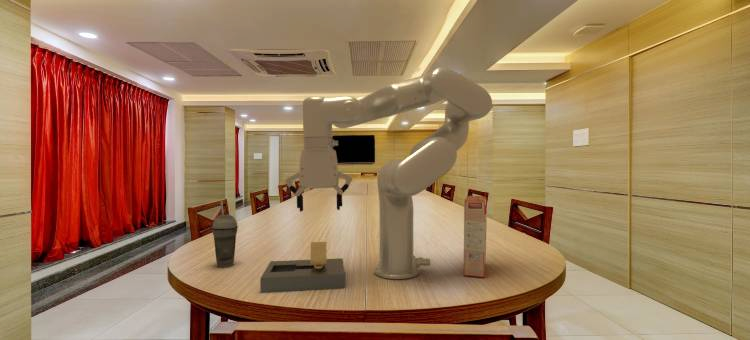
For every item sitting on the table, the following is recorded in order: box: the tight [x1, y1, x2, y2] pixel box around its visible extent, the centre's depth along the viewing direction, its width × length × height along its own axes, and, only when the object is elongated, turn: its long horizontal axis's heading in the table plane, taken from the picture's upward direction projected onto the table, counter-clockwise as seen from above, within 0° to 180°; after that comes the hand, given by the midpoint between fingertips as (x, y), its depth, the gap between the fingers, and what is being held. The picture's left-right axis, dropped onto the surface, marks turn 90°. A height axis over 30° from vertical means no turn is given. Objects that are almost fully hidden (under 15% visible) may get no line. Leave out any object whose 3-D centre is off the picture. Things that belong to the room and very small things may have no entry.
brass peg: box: [310, 241, 327, 269], centre depth 88 cm, size 4×4×10 cm
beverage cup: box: [211, 199, 239, 269], centre depth 101 cm, size 7×7×20 cm
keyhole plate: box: [259, 258, 346, 293], centre depth 88 cm, size 20×14×4 cm
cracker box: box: [463, 195, 488, 279], centre depth 96 cm, size 14×6×21 cm, turn 161°
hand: (320, 210), depth 88 cm, fingers open, 9 cm apart
